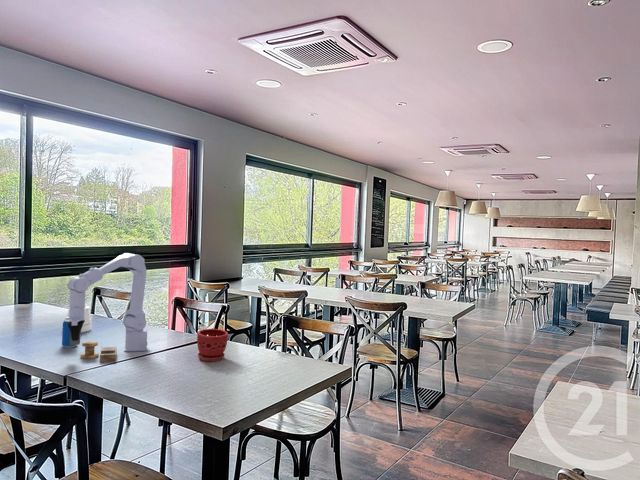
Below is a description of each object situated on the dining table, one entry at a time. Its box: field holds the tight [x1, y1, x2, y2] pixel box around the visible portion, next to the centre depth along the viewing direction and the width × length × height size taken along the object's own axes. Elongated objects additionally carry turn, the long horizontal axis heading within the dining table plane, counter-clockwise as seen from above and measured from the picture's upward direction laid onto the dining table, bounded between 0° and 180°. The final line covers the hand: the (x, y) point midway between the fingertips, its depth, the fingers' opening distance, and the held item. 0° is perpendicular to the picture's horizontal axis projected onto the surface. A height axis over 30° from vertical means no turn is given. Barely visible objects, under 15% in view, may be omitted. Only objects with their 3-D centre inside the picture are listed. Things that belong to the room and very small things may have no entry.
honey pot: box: [64, 303, 92, 333], centre depth 246 cm, size 13×13×18 cm
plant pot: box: [196, 328, 229, 362], centre depth 209 cm, size 13×13×12 cm
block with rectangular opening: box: [99, 346, 118, 363], centre depth 202 cm, size 6×12×3 cm, turn 22°
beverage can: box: [61, 319, 77, 349], centre depth 216 cm, size 6×6×12 cm
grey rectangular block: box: [70, 330, 82, 346], centre depth 195 cm, size 4×4×7 cm
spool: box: [79, 340, 100, 360], centre depth 202 cm, size 7×7×6 cm
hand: (75, 339), depth 195 cm, fingers closed on grey rectangular block, 3 cm apart
